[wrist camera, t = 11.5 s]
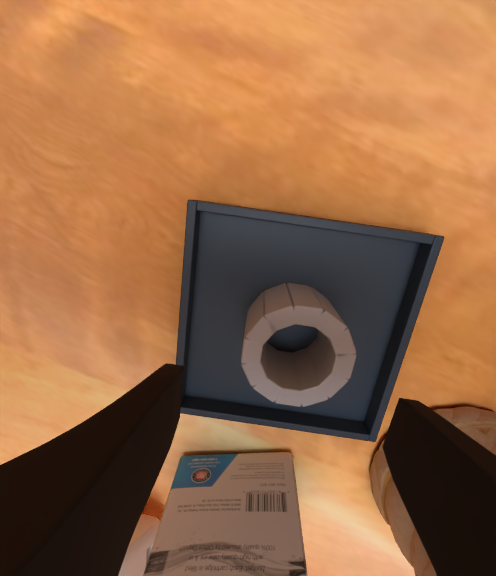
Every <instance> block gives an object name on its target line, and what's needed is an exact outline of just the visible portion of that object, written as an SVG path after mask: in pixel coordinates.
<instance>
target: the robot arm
mask: <svg viewBox="0 0 496 576" xmlns="http://www.w3.org/2000/svg"><path fill="white" fill-rule="evenodd" d="M183 374H184V366H181V365H174V364H167V363H166V364H164V365H163V366H162V367H160V368H159V369H158V370H156V371H155V372H154V373H152V374H151V375H150V376H149V377H147V378H146V379H145V380H143V381H142V382H141V383H139V384H138V385H137V386H135V387H134V388H133V389H131V390H130V391H129V392H127V393H126V394H124V395H123V396H122V397H120V398H119V399H117V400H116V401H115V402H113V403H112V404H110V405H109V406H107V407H106V408H104V409H103V410H101V411H99V412H98V413H96V414H95V415H93V416H92V417H90V418H89V419H87V420H86V421H84V422H82V423H81V424H79V425H77V426H76V427H74V428H72V429H70V430H69V431H67V432H65V433H63V434H61V435H60V436H58V437H56V438H54V439H52V440H50V441H49V442H47V443H45V444H43V445H41V446H39V447H37V448H35V449H33V450H31V451H29V452H27V453H25V454H23V455H20V456H18V457H16V458H14V459H12V460H10V461H8V462H6V463H4V464H2V465H0V576H118V575H119V572H120V569H121V566H122V563H123V560H124V558H125V555H126V552H127V549H128V546H129V543H130V541H131V538H132V536H133V533H134V531H135V528H136V526H137V523H138V521H139V519H140V516H141V514H142V512H143V509H144V507H145V505H146V502H147V500H148V498H149V496H150V493H151V491H152V489H153V486H154V484H155V482H156V479H157V477H158V475H159V473H160V470H161V468H162V466H163V463H164V461H165V459H166V456H167V454H168V452H169V449H170V447H171V444H172V440H173V437H174V434H175V431H176V428H177V424H178V421H179V418H180V409H181V397H182V386H183ZM382 448H383V451H384V454H385V458H386V461H387V464H388V467H389V470H390V473H391V476H392V479H393V481H394V483H395V486H396V488H397V490H398V492H399V495H400V497H401V499H402V501H403V503H404V506H405V508H406V510H407V512H408V514H409V516H410V518H411V521H412V523H413V525H414V527H415V529H416V531H417V533H418V536H419V538H420V540H421V542H422V544H423V546H424V548H425V550H426V553H427V555H428V557H429V559H430V561H431V563H432V565H433V568H434V570H435V572H436V575H437V576H496V455H495V454H493V453H492V452H490V451H489V450H488V449H486V448H485V447H484V446H482V445H481V444H479V443H478V442H477V441H475V440H474V439H472V438H471V437H470V436H468V435H467V434H465V433H464V432H463V431H461V430H460V429H459V428H457V427H456V426H454V425H453V424H452V423H450V422H449V421H447V420H446V419H445V418H443V417H442V416H440V415H439V414H438V413H436V412H435V411H433V410H432V409H430V408H429V407H427V406H426V405H424V404H422V403H421V402H419V401H416V400H410V399H403V398H399V401H398V404H397V406H396V409H395V412H394V415H393V418H392V420H391V423H390V426H389V429H388V432H387V435H386V437H385V440H384V443H383V446H382Z"/></svg>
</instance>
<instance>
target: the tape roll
mask: <svg viewBox="0 0 496 576" xmlns="http://www.w3.org/2000/svg"><path fill="white" fill-rule="evenodd" d="M294 324H297V325H304V326H311V327H315V328H316V329H318V330H319V331H318V335H317V338H316V339H315V340H314V341H313V342H312V343H311V344H310V345H309V346H308V347H307V348H305V349H302V350H299V351H296V352H293V353H291V352H284V351H278V350H276V349H275V348H274V347H272V346H271V345H270V344H268V343H267V340H268V339H269V338H270V337H271V336H272V335H273V334H274V333H275V332H276V331H277V330H280V329H283V328H286V327H289V326H291V325H294ZM356 356H357V355H356V349H355V346H354V343H353V340H352V337H351V334H350V331H349V329H348V327H347V326H346V325H345V323H344V322H343V320H342V319H341V317H340V316H339V314H338V313H337V312H336V310H335V309H334V307H333V306H332V304H331V303H330V302H329V300H328V299H327V298H326V297H324V296H323V295H322V294H321V293H319V292H318V291H317V290H315V289H314V288H313V287H311V288H310V286H307V285H300V284H294V283H287V285H286V283H283V284H281V285H278V286H275V287H272V288H270V289H267V290H265V291H264V292H262V293H261V294H260V295H259V296H258V298H257V299H256V300H255V301H254V302H253V303H252V305H251V306H250V307H249V310H248V312H247V319H246V326H245V333H244V340H243V348H242V355H241V363H242V364H241V366H242V368H243V370H244V372H245V374H246V376H247V379H248V381H249V383H250V385H251V386H253V389H254V390H256V391H257V392H259V393H260V394H262V395H263V396H265V397H266V398H267V399H269V400H270V401H272V402H274V401H275V403H278V404H284V405H291V406H298V407H300V406H301V404H302V406H303V407H305V406H308V405H312V404H315V403H318V402H322V401H325V400H328V397H329V398H331V397H332V396H333V395H334V394H335V393H336V392H337V391H338V390H340V389H341V388H342V387H343V386H344V385H345V384H346V383H347V382H348V379H350V377H351V374H352V370H353V366H354V363H355V359H356Z"/></svg>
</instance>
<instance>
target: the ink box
mask: <svg viewBox="0 0 496 576" xmlns="http://www.w3.org/2000/svg"><path fill="white" fill-rule="evenodd" d="M143 576H307V570H306V560H305V553H304V544H303V536H302V528H301V520H300V512H299V504H298V496H297V488H296V479H295V472H294V464H293V455H292V454H291V453H289V452H273V453H246V454H218V455H189V456H182V457H181V459H180V461H179V465H178V468H177V471H176V474H175V477H174V480H173V483H172V486H171V490H170V492H169V495H168V499H167V502H166V505H165V508H164V511H163V514H162V518H161V521H160V524H159V527H158V530H157V533H156V536H155V540H154V543H153V546H152V549H151V552H150V556H149V559H148V562H147V565H146V568H145V571H144V574H143Z"/></svg>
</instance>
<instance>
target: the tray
mask: <svg viewBox="0 0 496 576" xmlns="http://www.w3.org/2000/svg"><path fill="white" fill-rule="evenodd" d="M443 240H444V237H443V236H439V235H433V234H427V233H420V232H414V231H407V230H400V229H393V228H386V227H379V226H372V225H365V224H358V223H351V222H344V221H337V220H330V219H323V218H316V217H309V216H302V215H295V214H288V213H282V212H275V211H268V210H261V209H254V208H247V207H240V206H233V205H226V204H219V203H212V202H205V201H198V200H188V204H187V218H186V231H185V245H184V259H183V273H182V287H181V301H180V315H179V329H178V343H177V357H176V365H181V366H184V374H183V386H182V397H181V409H180V413H183V414H190V415H197V416H203V417H210V418H217V419H224V420H230V421H237V422H244V423H251V424H257V425H264V426H271V427H277V428H284V429H291V430H298V431H304V432H311V433H318V434H325V435H331V436H338V437H345V438H352V439H358V440H365V441H372V442H375V441H376V438H377V435H378V432H379V429H380V427H381V424H382V421H383V418H384V415H385V412H386V409H387V406H388V403H389V400H390V397H391V394H392V391H393V388H394V385H395V382H396V379H397V376H398V373H399V370H400V367H401V364H402V361H403V358H404V355H405V352H406V350H407V347H408V344H409V341H410V338H411V335H412V332H413V329H414V326H415V323H416V320H417V317H418V314H419V311H420V308H421V305H422V302H423V299H424V296H425V293H426V290H427V287H428V284H429V281H430V278H431V275H432V272H433V270H434V267H435V264H436V261H437V258H438V255H439V252H440V249H441V246H442V243H443ZM283 283H286V285H287V283H294V284H300V285H307V286H310V288H311V287H313V288H314V289H315V290H317V291H318V292H319V293H321V294H322V295H323V296H324V297H326V298H327V299H328V300H329V302H330V303H331V304H332V306H333V307H334V309H335V310H336V312H337V313H338V314H339V316H340V317H341V319H342V320H343V322H344V323H345V325H346V326H347V327H348V329H349V331H350V334H351V337H352V340H353V343H354V346H355V349H356V355H357V356H356V359H355V363H354V366H353V370H352V374H351V377H350V379H348V382H347V383H346V384H345V385H344V386H343V387H342V388H341V389H340V390H338V391H337V392H336V393H335V394H334V395H333V396H332V397H331V398H329V397H328V400H325V401H322V402H318V403H315V404H312V405H308V406H305V407H303V406H302V404H301V406H300V407H298V406H291V405H284V404H278V403H275V401H274V402H272V401H270V400H269V399H267V398H266V397H265V396H263V395H262V394H260V393H259V392H257V391H256V390H254V389H253V386H251V385H250V383H249V381H248V379H247V376H246V374H245V372H244V370H243V368H242V366H241V364H242V363H241V355H242V348H243V340H244V333H245V326H246V319H247V312H248V310H249V307H250V306H251V305H252V303H253V302H254V301H255V300H256V299H257V298H258V296H259V295H260V294H261V293H262V292H264V291H265V290H267V289H270V288H272V287H275V286H278V285H281V284H283ZM318 331H319V330H318V329H316V328H315V327H311V326H304V325H297V324H294V325H291V326H289V327H286V328H283V329H280V330H277V331H276V332H275V333H274V334H273V335H272V336H271V337H270V338H269V339H268V340H267V343H268V344H270V345H271V346H272V347H274V348H275V349H276V350H278V351H284V352H291V353H293V352H296V351H299V350H302V349H305V348H307V347H308V346H309V345H310V344H311V343H312V342H313V341H314V340H315V339H316V338H317V335H318Z"/></svg>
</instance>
